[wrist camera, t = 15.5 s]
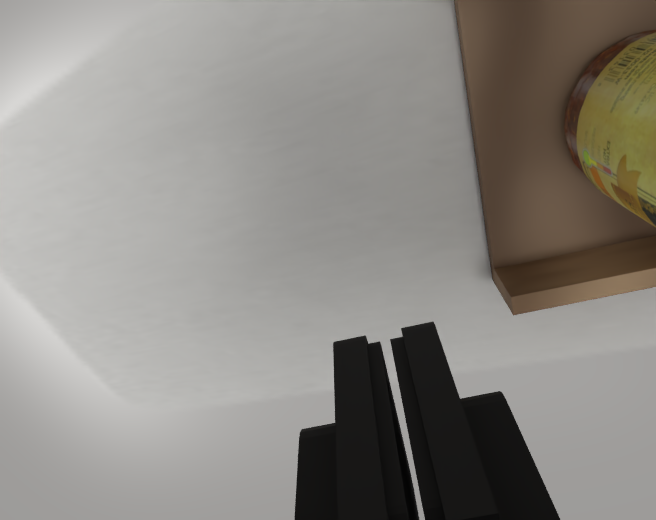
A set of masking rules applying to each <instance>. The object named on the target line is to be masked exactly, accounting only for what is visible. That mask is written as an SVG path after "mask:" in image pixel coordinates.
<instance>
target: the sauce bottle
mask: <svg viewBox="0 0 656 520" xmlns="http://www.w3.org/2000/svg"><path fill="white" fill-rule="evenodd" d="M564 130H565V140H566V144H567V145H568V149H569V151H570V153H571V156H572V160H573V162H574V164H575V165H576V166H577V167H578V168H579V169H580V170H581V172H583V173H584V174H585V175H586V176H587V177H588V179H589V180H590V181H591V182H592V183H593V184H594V185H595V187H596V188H597V189H598V190H600V191H601V192H602V193H603V194H605V195H606V196H608V197H610V198H611V199H613V200H614V201H616V202H617V203H619V204H620V205H622V206H623V207H625V208H626V209H628V210H629V211H631V212H632V213H634V214H636V215H637V216H639V217H640V218H642V219H643V220H645V221H647V222H648V223H650V224H651V225H653V226H654V227H656V29H655V30H649V31H644V32H641V33H638V34H635V35H631V36H629V37H628V38H626V39H625V40H623V41H621V42H619V43H617V44H615V45H613V46H612V47H609V48H608V49H606V50H605V51H604V52H602V53H600V54H599V55H598V56H597V57H596V58H595V59H594V60H593V61H592V62H591V63H590V64H589V66H588V67H587V68H586V69H585V70H584V72H583V73H582V74H581V76H580V78H579V80H578V82H577V84H576V85H575V87H574V88H573V91H572V92H571V94H570V99H569V102H568V105H567V107H566V112H565V119H564Z"/></svg>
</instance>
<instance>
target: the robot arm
mask: <svg viewBox="0 0 656 520" xmlns="http://www.w3.org/2000/svg"><path fill="white" fill-rule="evenodd" d="M401 330H402V335H403V337H400V338H395V339H390V341H391V346H392V351H393V356H394V361H395V367H396V372H397V377H398V382H399V387H400V392H401V398H402V403H403V408H404V413H405V418H406V423H407V429H408V433H409V439H410V444H411V449H412V454H413V460H414V465H415V469H416V475H417V480H418V486H419V491H420V496H421V501H422V506H423V511H424V516H425V520H560V518H559V516H558V514H557V511H556V509H555V507H554V505H553V502H552V500H551V498H550V496H549V494H548V491H547V490H546V487H545V485H544V483H543V480H542V478H541V476H540V474H539V472H538V469H537V467H536V466H535V463H534V460H533V458H532V456H531V454H530V452H529V450H528V447H527V445H526V443H525V441H524V439H523V436H522V434H521V432H520V430H519V427H518V425H517V423H516V421H515V419H514V416H513V414H512V412H511V410H510V407H509V406H508V404H507V401H506V399H505V397H504V395H503V394H502V392H500V391H498V392H494V393H488V394H483V395H478V396H472V397H467V398H462V399H460V398H459V395H458V392H457V389H456V386H455V383H454V380H453V377H452V374H451V371H450V368H449V365H448V362H447V359H446V356H445V353H444V350H443V347H442V345H441V342H440V339H439V336H438V333H437V330H436V327H435V324H434V322H429V323H424V324H420V325H415V326H410V327H405V328H401ZM333 351H334V390H335V423H332V424H327V425H322V426H317V427H311V428H306V429H302V430H301V432H300V437H299V453H298V471H297V488H296V504H295V505H296V506H295V520H419V516H418V510H417V505H416V499H415V494H414V488H413V483H412V478H411V473H410V469H409V464H408V460H407V456H406V451H405V447H404V442H403V438H402V434H401V429H400V425H399V421H398V417H397V413H396V408H395V403H394V399H393V395H392V391H391V386H390V382H389V377H388V373H387V369H386V364H385V360H384V356H383V351H382V347H381V343H380V342H375V343H370V344H368V341H367V338H366V336H361V337H356V338H351V339H346V340H341V341H336V342H334V343H333Z"/></svg>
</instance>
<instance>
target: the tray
mask: <svg viewBox="0 0 656 520" xmlns="http://www.w3.org/2000/svg"><path fill="white" fill-rule="evenodd" d="M454 3H455V10H456V18H457V25H458V32H459V39H460V47H461V54H462V61H463V68H464V76H465V83H466V90H467V97H468V105H469V112H470V119H471V126H472V134H473V141H474V148H475V155H476V163H477V170H478V177H479V184H480V192H481V199H482V206H483V214H484V221H485V228H486V235H487V243H488V250H489V257H490V264H491V272H492V279H493V281H494V283H495V285H496V286H497V288H498V290H499V292H500V293H501V295H502V297H503V298H504V300H505V302H506V304H507V305H508V307H509V309H510V310H511V312H512V314H513V315H517V314H522V313H527V312H532V311H537V310H542V309H547V308H552V307H557V306H562V305H567V304H572V303H577V302H582V301H587V300H592V299H597V298H602V297H607V296H612V295H617V294H622V293H627V292H632V291H637V290H642V289H647V288H652V287H656V227H654V226H653V225H651V224H650V223H648V222H647V221H645V220H643V219H642V218H640V217H639V216H637V215H636V214H634V213H632V212H631V211H629V210H628V209H626V208H625V207H623V206H622V205H620V204H619V203H617V202H616V201H614V200H613V199H611V198H610V197H608V196H606V195H605V194H603V193H602V192H601V191H600V190H598V189H597V188H596V187H595V185H594V184H593V183H592V182H591V181H590V180H589V179H588V177H587V176H586V175H585V174H584V173H583V172H581V170H580V169H579V168H578V167H577V166H576V165H575V164H574V162H573V160H572V156H571V153H570V151H569V149H568V145H567V144H566V140H565V130H564V119H565V112H566V107H567V105H568V102H569V99H570V94H571V92H572V91H573V88H574V87H575V85H576V84H577V82H578V80H579V78H580V76H581V74H582V73H583V72H584V70H585V69H586V68H587V67H588V66H589V64H590V63H591V62H592V61H593V60H594V59H595V58H596V57H597V56H598V55H599V54H600V53H602V52H604V51H605V50H606V49H608V48H609V47H612V46H613V45H615V44H617V43H619V42H621V41H623V40H625V39H626V38H628V37H629V36H631V35H635V34H638V33H641V32H644V31H649V30H655V29H656V0H454Z"/></svg>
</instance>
